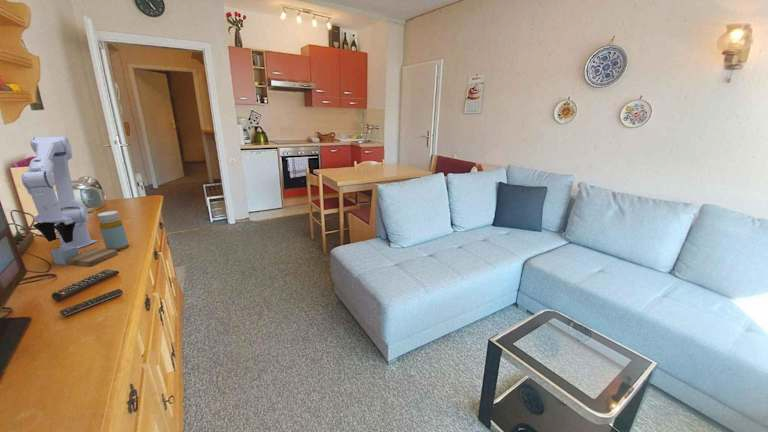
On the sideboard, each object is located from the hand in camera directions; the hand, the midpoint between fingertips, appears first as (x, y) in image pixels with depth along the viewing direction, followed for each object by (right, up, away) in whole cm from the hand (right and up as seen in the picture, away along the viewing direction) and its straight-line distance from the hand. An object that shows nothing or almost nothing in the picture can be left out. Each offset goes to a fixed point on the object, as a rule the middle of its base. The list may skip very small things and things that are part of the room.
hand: (60, 241), depth 114 cm
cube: (0, -8, +3) cm, 8 cm away
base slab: (+8, -7, +4) cm, 12 cm away
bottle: (+10, -4, +13) cm, 17 cm away
